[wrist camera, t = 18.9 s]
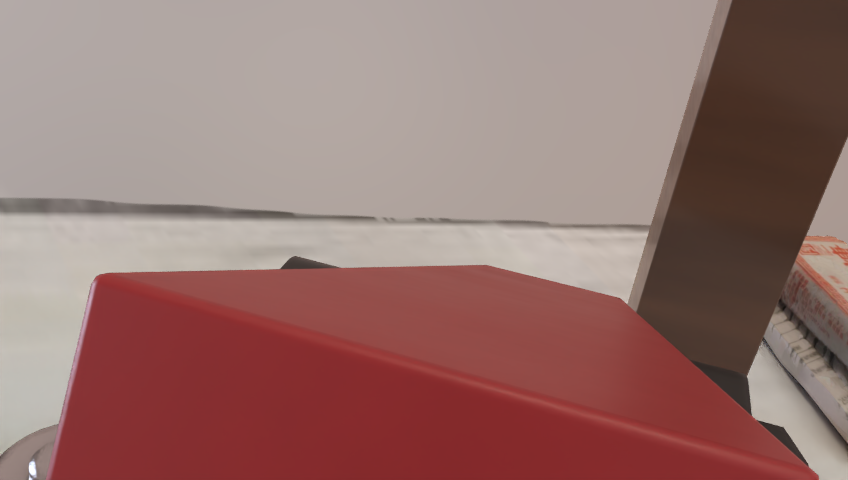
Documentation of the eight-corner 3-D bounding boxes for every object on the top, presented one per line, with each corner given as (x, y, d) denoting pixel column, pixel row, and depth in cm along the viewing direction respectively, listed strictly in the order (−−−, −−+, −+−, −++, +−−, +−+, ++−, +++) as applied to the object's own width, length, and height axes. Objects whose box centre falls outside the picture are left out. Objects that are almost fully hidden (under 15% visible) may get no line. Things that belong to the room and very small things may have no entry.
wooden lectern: (759, 639, 31) (1367, -442, 14) (499, 553, 34) (749, -472, 16) (741, 427, 42) (1072, -330, 25) (546, 373, 45) (725, -358, 27)
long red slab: (624, 1290, 4) (831, 478, 4) (-68, 937, 5) (87, 270, 5) (588, 436, 24) (622, 298, 23) (451, 397, 24) (483, 264, 24)
